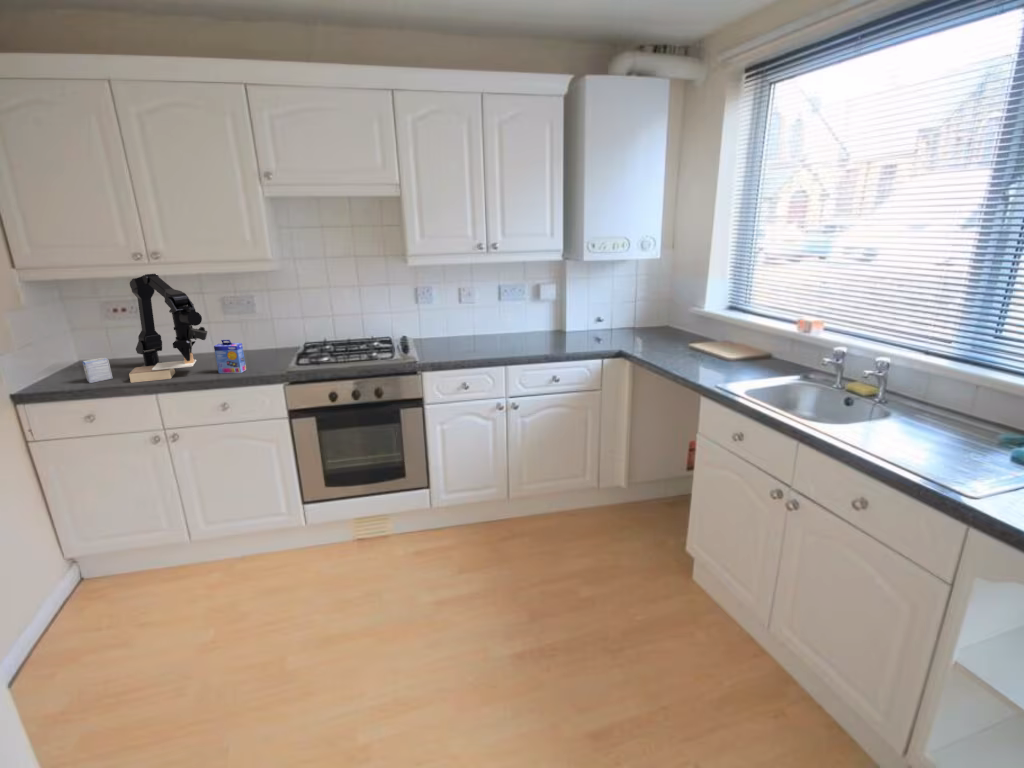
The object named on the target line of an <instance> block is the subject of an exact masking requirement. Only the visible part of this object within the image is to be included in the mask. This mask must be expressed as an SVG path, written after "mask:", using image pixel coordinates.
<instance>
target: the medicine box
mask: <svg viewBox="0 0 1024 768" xmlns="http://www.w3.org/2000/svg"><path fill="white" fill-rule="evenodd" d="M81 362H82V366H83V370H84V373H85V377H86V381H87V382H88V383H90V384H91V383H96V382H102V381H108V380H113V373H112V369H111V365H110V361H109V359H108V358H106V357H99V358H93V359H88V360H82V361H81Z"/></svg>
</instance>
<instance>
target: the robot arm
mask: <svg viewBox="0 0 1024 768" xmlns="http://www.w3.org/2000/svg"><path fill="white" fill-rule="evenodd" d="M156 274H157V273H146V274H143V275H141V276H139V277H134V278H131V280H130V281H129V287H130V289H131V293H132V294H133V295H134V296H135V297H136V298H137V303H138V312H139V319H140V326H141V327H140V328H141V330H140V333H139V335H138V337H137V339H138V342H137V345H136V347H135V351H136V354H137V355H138V354H139V355H142V358H143V362H144V364H143V365H142V367H145V366H155V365H156V364H157V363H163V361H160V358H159V352H161V351H163V341H162V335H161V334H160V333H158V332H157V331H156V327H155V319H154V313H153V304H152V297H153V296H154V294H155V291H156V292H157V293H158V294H159V295H160V296H162V297H163V298H164V303H165V305H167V307H168V308H170V309H169V310H168V311H169V313H170V314H171V315H172V321H173V331H174V332H175V337H174V338H175V340H174V341H173V342H172V348H173V349H177V350H178V351H179V353H180V354H181V355H182V357H183V359H184V358H185V359H186V360H187V361H190V353H193V352H192V351H193V346H194V344H196V340H198V339H199V340H201V341H205V340H206V339H207V336H208V331H207V330H206V329H205V326H204V327H203V326H199V328H195V327H197V326H198V325H200V324H201V323H202V321H203V318H202V314H200V313H199V311H196V307H195V305H194V303H193V301H191V299H190V297H189V296H188V295H187V294H186V293H185V292H184V291H182V290H179V289H174V288H173V287H172V286H171V285H169V284H168V283H167V282H165V281H164V280H163V279H162V278H161V277H160V276H159V274H158V275H156ZM193 326H195V327H194V328H193ZM193 340H195V341H193Z"/></svg>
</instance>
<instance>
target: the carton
mask: <svg viewBox="0 0 1024 768" xmlns="http://www.w3.org/2000/svg"><path fill="white" fill-rule="evenodd" d="M153 367H154V366H145V367H143V366H136V367H134V368H133V369H132V370H131V371H130V372H129V374H128V376H129V379H130V380H129V381H130V384H131V383H140V382H149V381H150V382H151V381H152V382H153V381H162V380H170V379H172V377H173V376H174V375H175V374H176V370H175V369H176V368H172V369H161V370H152V368H153Z"/></svg>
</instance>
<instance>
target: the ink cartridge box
mask: <svg viewBox="0 0 1024 768" xmlns="http://www.w3.org/2000/svg"><path fill="white" fill-rule="evenodd" d="M220 341H221V342H220V343H218V344H215V345H214V346H213V350H214V354H215V355H214V356H215V361H216V365H217V371H218V374H242V373H244V372H245V371H247V365H246V360H245V359H246V358H245V353H244V347H243V343H242V342H231V339H221V340H220Z"/></svg>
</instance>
